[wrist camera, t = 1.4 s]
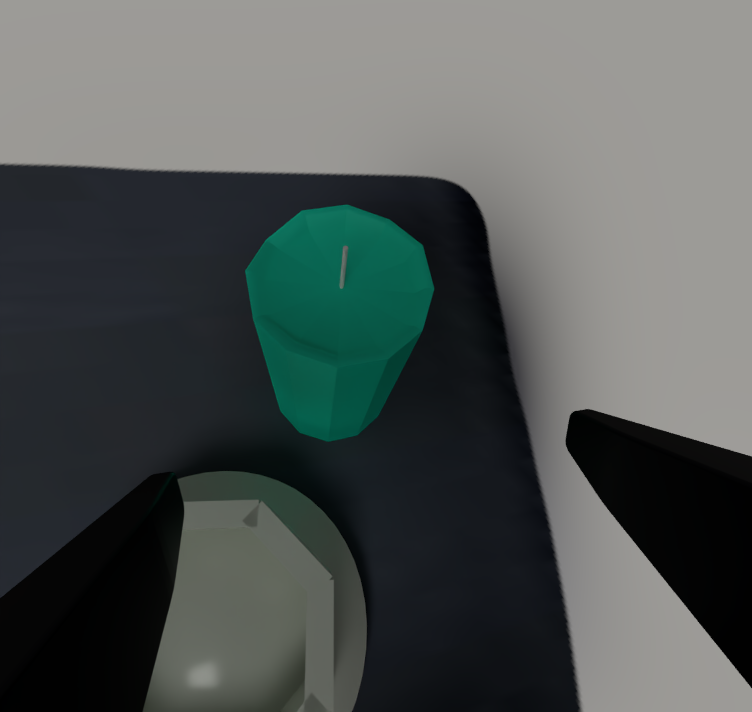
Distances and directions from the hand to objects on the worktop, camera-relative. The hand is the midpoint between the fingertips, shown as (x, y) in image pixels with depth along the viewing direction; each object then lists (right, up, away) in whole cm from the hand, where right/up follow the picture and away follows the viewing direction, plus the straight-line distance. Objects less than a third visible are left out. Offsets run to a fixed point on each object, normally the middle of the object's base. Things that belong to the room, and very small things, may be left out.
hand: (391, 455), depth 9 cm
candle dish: (-7, -10, +8) cm, 15 cm away
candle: (-3, 0, +13) cm, 14 cm away
